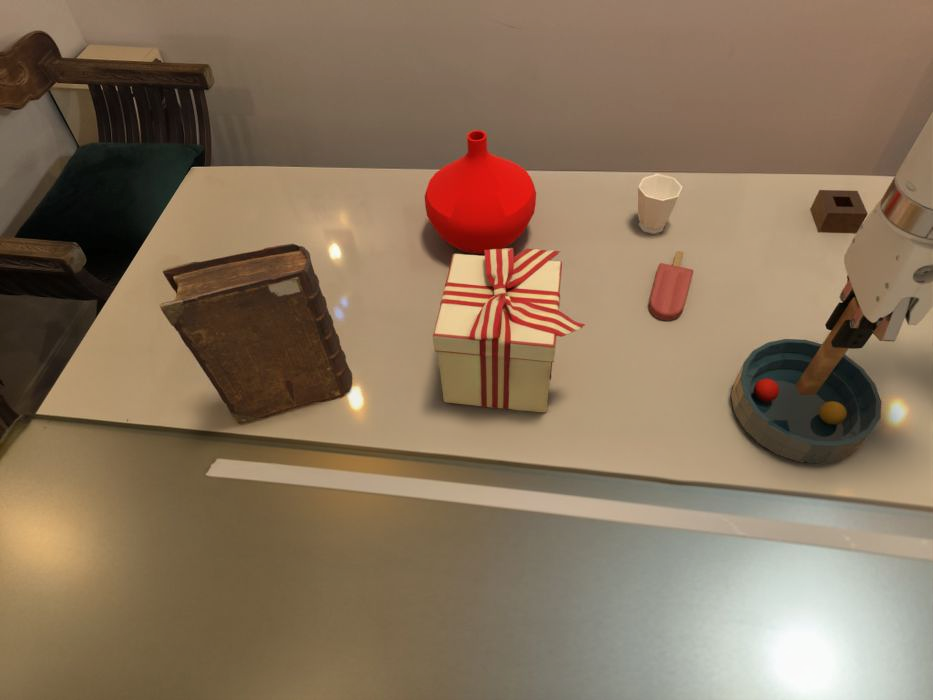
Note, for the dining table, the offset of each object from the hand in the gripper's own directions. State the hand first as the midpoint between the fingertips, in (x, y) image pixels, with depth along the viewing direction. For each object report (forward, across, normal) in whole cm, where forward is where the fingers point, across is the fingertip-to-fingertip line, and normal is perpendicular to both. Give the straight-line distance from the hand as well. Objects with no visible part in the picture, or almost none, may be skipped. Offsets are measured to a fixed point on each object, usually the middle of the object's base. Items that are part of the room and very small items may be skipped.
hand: (843, 336), depth 68 cm
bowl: (+15, 0, 0) cm, 15 cm away
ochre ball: (+13, -1, -4) cm, 14 cm away
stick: (+11, 0, 0) cm, 11 cm away
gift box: (+16, +5, +38) cm, 41 cm away
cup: (+16, +38, +16) cm, 44 cm away
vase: (+16, +33, +45) cm, 58 cm away
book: (+16, -3, +68) cm, 70 cm away
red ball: (+13, +2, +4) cm, 14 cm away
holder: (+15, +39, -14) cm, 44 cm away
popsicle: (+16, +22, +14) cm, 30 cm away
